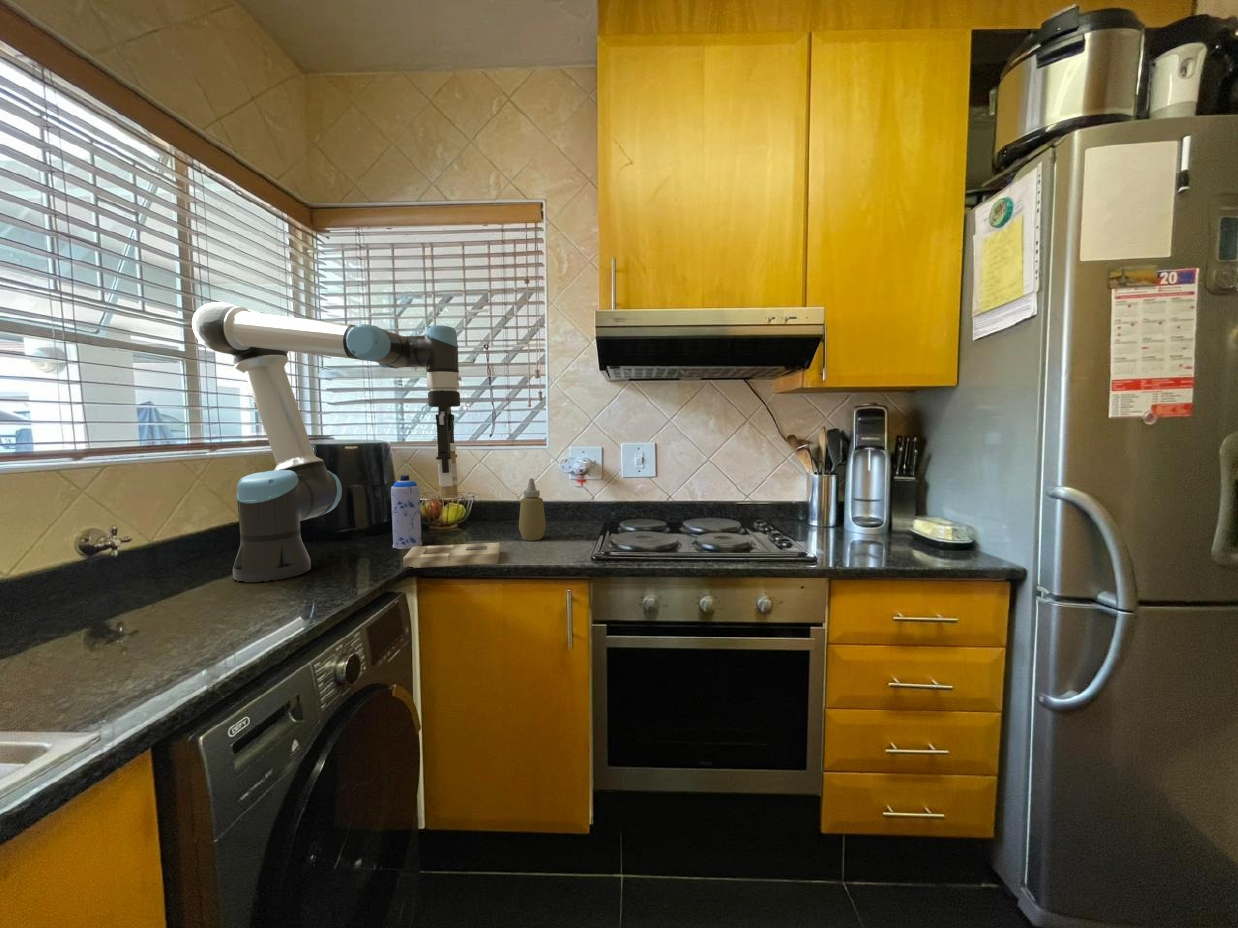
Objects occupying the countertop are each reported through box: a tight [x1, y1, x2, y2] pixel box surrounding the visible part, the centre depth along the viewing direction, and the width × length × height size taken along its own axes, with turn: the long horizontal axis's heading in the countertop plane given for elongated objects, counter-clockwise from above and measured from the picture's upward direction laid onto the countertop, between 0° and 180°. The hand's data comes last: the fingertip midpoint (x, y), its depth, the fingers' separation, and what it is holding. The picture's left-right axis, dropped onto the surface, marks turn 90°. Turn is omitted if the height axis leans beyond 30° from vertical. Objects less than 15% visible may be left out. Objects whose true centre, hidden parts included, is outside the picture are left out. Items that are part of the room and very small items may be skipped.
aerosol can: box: [390, 474, 423, 550], centre depth 150 cm, size 8×8×20 cm
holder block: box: [402, 542, 501, 569], centre depth 135 cm, size 22×12×3 cm, turn 101°
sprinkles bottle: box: [436, 443, 459, 499], centre depth 133 cm, size 5×5×14 cm
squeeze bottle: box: [518, 478, 547, 542], centre depth 157 cm, size 8×8×18 cm
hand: (448, 484), depth 133 cm, fingers closed on sprinkles bottle, 4 cm apart
